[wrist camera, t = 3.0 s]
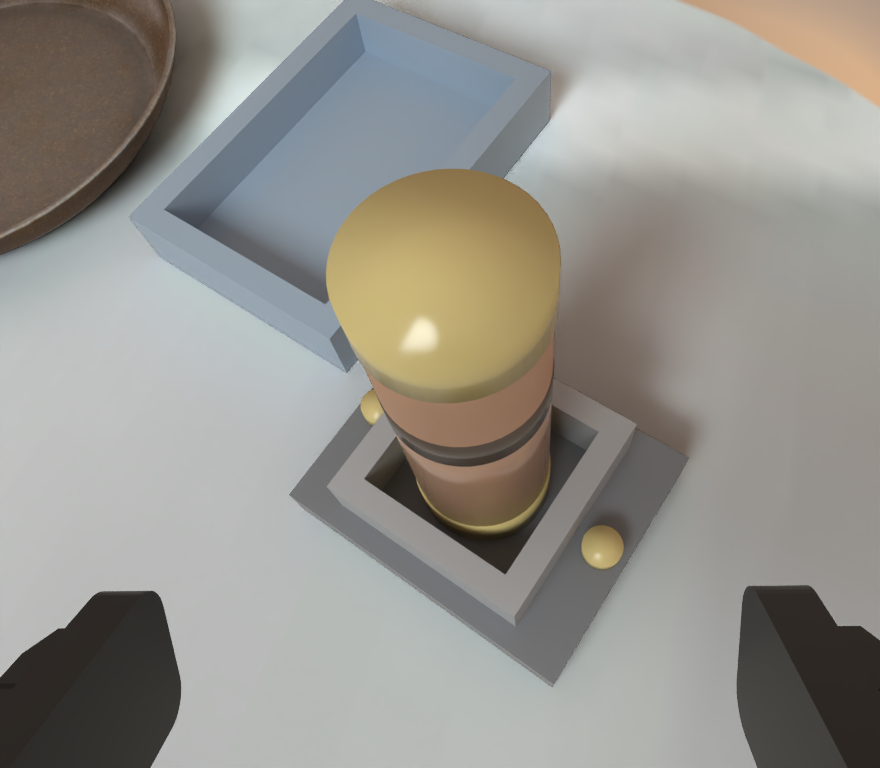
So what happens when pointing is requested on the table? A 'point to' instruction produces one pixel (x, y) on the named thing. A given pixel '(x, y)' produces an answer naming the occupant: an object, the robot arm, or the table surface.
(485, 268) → the cylinder
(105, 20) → the plant saucer
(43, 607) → the table surface
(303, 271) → the parts tray
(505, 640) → the fuse block
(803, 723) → the robot arm
